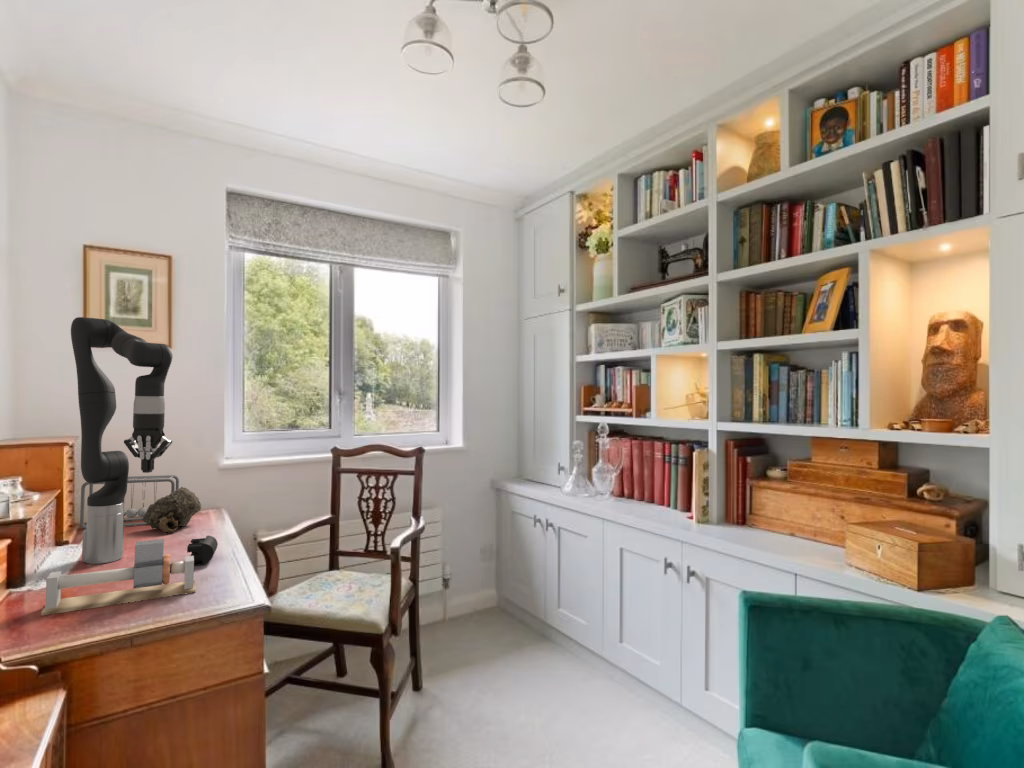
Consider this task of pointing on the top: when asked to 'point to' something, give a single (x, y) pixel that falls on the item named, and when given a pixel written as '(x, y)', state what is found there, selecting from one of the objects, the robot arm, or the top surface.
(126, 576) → the rod
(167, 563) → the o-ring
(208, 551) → the end cap
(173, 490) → the newton's cradle
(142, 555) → the grooved slider block
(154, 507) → the rock
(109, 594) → the base board
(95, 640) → the top surface
